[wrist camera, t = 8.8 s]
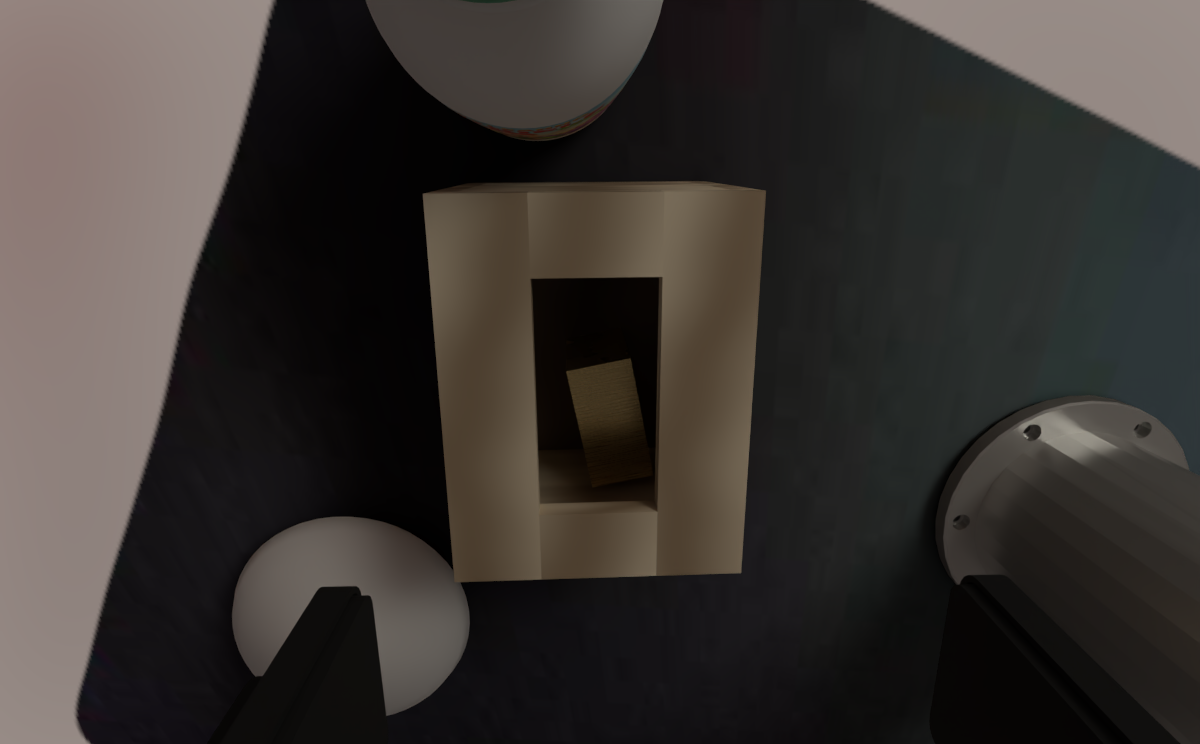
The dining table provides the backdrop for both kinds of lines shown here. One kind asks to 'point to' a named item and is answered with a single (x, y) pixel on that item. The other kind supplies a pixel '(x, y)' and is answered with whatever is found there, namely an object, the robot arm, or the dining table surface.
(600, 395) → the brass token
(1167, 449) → the robot arm
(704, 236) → the box
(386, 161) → the dining table surface
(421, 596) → the flower in vase
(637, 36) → the milk bottle
